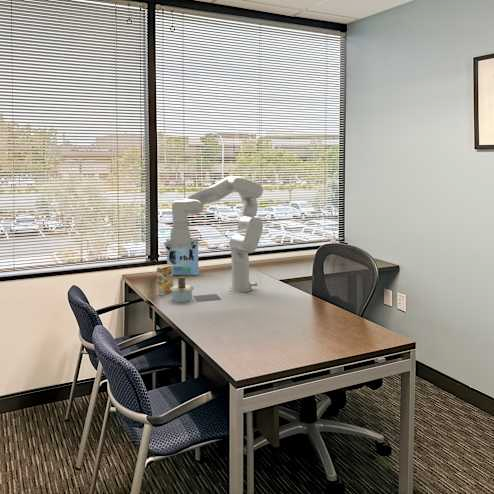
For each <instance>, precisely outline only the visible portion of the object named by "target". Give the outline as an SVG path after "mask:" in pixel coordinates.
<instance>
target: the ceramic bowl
mask: <svg viewBox="0 0 494 494" xmlns="http://www.w3.org/2000/svg"><path fill="white" fill-rule="evenodd" d="M192 300H193V290H191V291H187V292H174V291H172V292H171V301H172V302H175V303H176V302H177V303H185V302H187V303H188V302H190V301H192Z"/></svg>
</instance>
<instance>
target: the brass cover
mask: <svg viewBox="0 0 494 494" xmlns="http://www.w3.org/2000/svg"><path fill="white" fill-rule="evenodd" d="M194 289H195V288H194V286H192V285H190V284H189V285H188V284H186V277H185V276H178V277H177V285H173V286H172V287H171V288H170V290H171V291H174V292H187V291H191V290H192V291H193V290H194Z"/></svg>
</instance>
